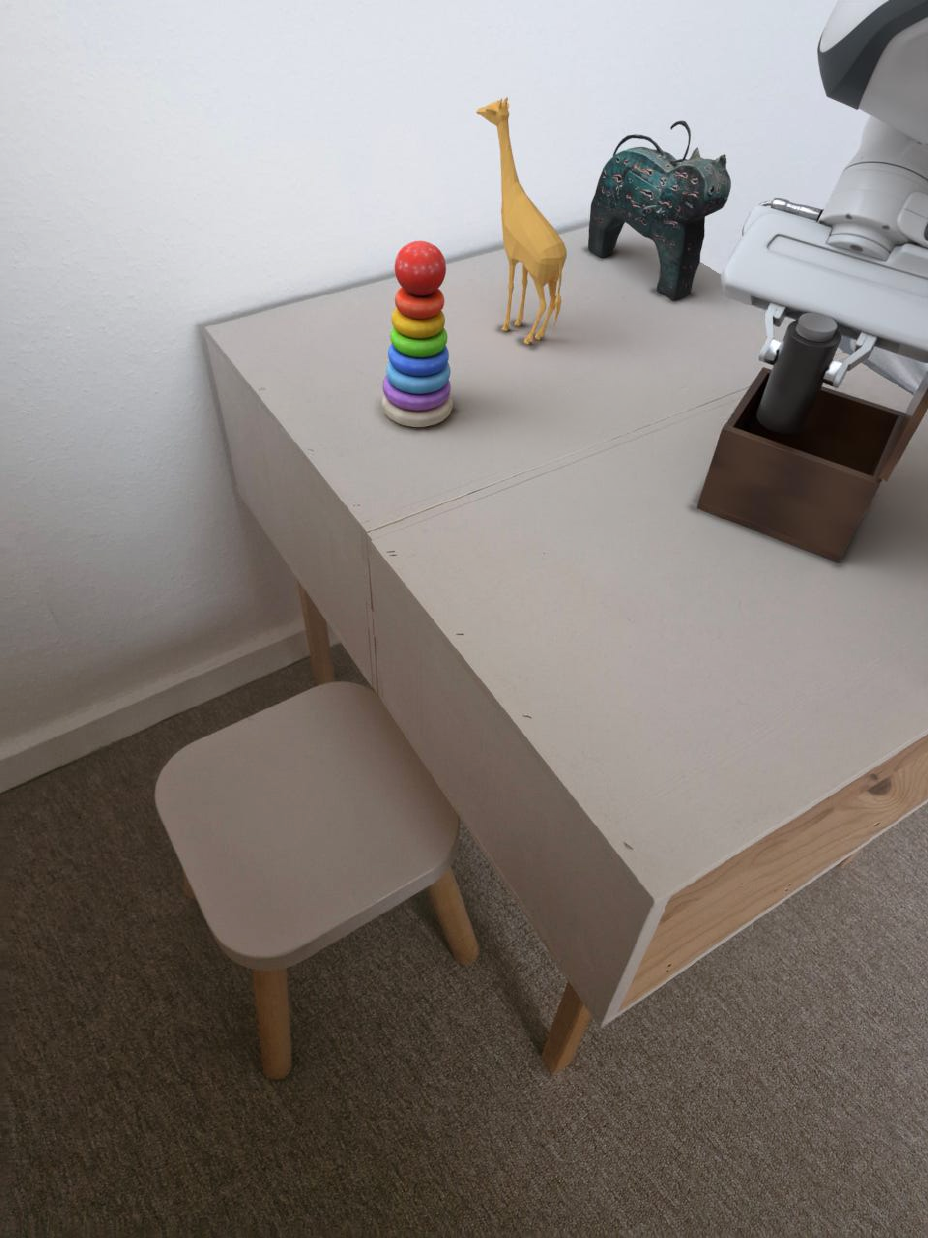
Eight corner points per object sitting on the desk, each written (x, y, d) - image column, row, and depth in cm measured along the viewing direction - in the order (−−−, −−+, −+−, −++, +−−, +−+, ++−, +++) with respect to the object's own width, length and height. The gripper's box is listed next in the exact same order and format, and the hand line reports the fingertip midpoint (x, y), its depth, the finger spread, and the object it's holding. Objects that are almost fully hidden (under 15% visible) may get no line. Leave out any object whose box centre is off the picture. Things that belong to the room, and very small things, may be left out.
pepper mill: (811, 415, 81) (851, 318, 73) (797, 439, 78) (838, 341, 71) (764, 399, 82) (799, 302, 75) (749, 423, 79) (784, 325, 72)
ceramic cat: (705, 297, 115) (748, 138, 100) (671, 310, 113) (711, 149, 98) (605, 240, 126) (631, 88, 111) (573, 251, 123) (595, 96, 108)
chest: (696, 507, 86) (722, 428, 79) (735, 444, 94) (762, 366, 86) (838, 562, 82) (880, 484, 74) (868, 492, 89) (908, 414, 82)
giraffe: (456, 304, 111) (465, 89, 93) (482, 294, 113) (495, 83, 95) (540, 360, 103) (568, 137, 85) (566, 349, 105) (599, 129, 86)
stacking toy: (451, 432, 93) (458, 266, 79) (378, 429, 93) (372, 262, 79) (453, 391, 98) (460, 229, 84) (384, 388, 98) (379, 224, 84)
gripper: (758, 174, 74) (687, 322, 76) (1001, 241, 68) (917, 402, 69) (760, 209, 80) (694, 346, 82) (985, 273, 73) (907, 421, 75)
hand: (798, 372), depth 76 cm, fingers closed on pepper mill, 4 cm apart
